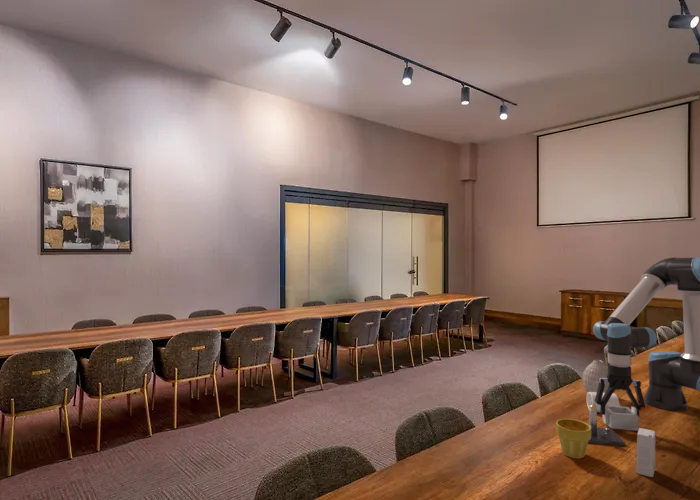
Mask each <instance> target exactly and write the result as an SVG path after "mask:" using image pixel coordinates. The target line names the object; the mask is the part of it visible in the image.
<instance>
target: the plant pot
mask: <svg viewBox="0 0 700 500" xmlns="http://www.w3.org/2000/svg"><path fill="white" fill-rule="evenodd" d="M555 432H556V433H557V435H558V437H559V443H560V447H561V451H562V454H563V455H565V456H566V457H569V458H572V459H583V458H585V456H586V451H587V447H588V444H589V443H588V441H589V440H590V439H591V427H590V425H589V423H586V422H584V421H582V420H579V419H575V418H574V419H573V418H561V419H560V418H559V419H558V420H556V421H555Z"/></svg>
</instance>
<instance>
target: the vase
mask: <svg viewBox="0 0 700 500" xmlns="http://www.w3.org/2000/svg"><path fill="white" fill-rule="evenodd" d="M607 376H608V365H606V364H605V363H604V361H602V360H600V359H594V360H593V361H592V362H591V363H589V364H588V365H587V366H586V368H585V369H584V371H583V373H582V384H583V387H584V390H585V391H586V392H587V393H588V392H597V390H598V386H599V377H601V378H607ZM608 386H609V382H608V381H607V382H606V384H605V387H604V391H603V393H606V391H607V389H608Z"/></svg>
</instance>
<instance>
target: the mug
mask: <svg viewBox="0 0 700 500" xmlns="http://www.w3.org/2000/svg"><path fill="white" fill-rule="evenodd" d="M596 394H597V392H587V393H586V405H587V408H588V410H589V407H590V405H595V406H596V407H597V413H600V414H601V412H600V405H599V404H597V403H596V402H595V398H596ZM604 394H605V393H603V395H602V398H603V396H604ZM601 400H602V399H601ZM606 405H608V406H621V405H620V400H619V398H618V395H617V394H616V393H615V392H613V394H612V395H611V397H610V399H609V401H608V402H607V404H606Z"/></svg>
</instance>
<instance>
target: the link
mask: <svg viewBox="0 0 700 500" xmlns="http://www.w3.org/2000/svg"><path fill="white" fill-rule="evenodd" d="M606 406H607V407H608V424H606V425H607V426H608V428H611V429H612V430H626V431H627V430H628V431H637V432H638V431H639V417H638V415H637V414H636V413H635V412H633V411H632V410H631V407H629V406H621V405H620V406H608V405H606ZM601 419H602V420H603V414H601Z"/></svg>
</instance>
